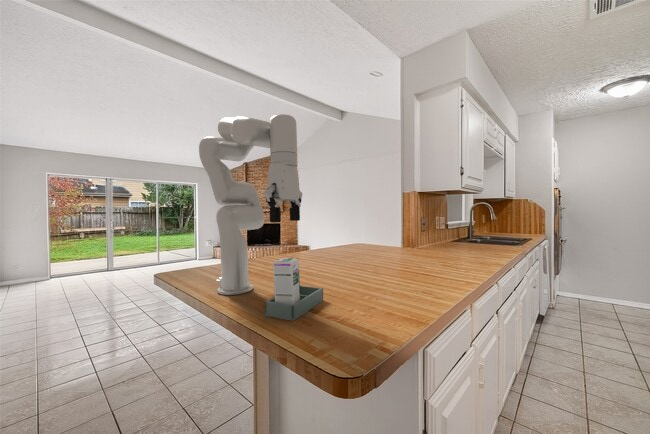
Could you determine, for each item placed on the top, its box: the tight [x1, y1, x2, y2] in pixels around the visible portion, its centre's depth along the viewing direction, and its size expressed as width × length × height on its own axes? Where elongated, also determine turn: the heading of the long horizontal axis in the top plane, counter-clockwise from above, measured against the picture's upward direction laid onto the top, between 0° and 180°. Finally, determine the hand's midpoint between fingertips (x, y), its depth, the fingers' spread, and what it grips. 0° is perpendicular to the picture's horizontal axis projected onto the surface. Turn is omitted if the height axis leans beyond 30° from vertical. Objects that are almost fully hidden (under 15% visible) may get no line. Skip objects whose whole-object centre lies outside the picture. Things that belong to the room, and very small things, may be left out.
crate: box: [264, 285, 324, 322], centre depth 84 cm, size 18×9×4 cm, turn 154°
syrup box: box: [272, 257, 301, 305], centre depth 80 cm, size 6×6×14 cm
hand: (285, 221), depth 79 cm, fingers open, 9 cm apart
